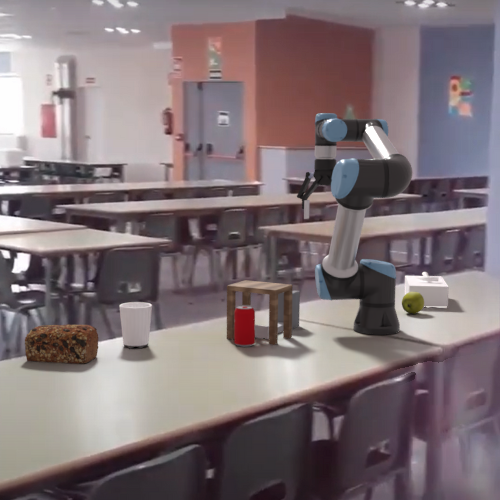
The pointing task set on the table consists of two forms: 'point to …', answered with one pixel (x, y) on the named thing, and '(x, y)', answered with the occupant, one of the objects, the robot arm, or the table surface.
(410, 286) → the tissue box
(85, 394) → the table surface
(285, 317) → the small wooden table
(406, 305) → the apple
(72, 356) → the bread
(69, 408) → the table surface
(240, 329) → the beverage can
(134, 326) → the cup
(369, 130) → the robot arm
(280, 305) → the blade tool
